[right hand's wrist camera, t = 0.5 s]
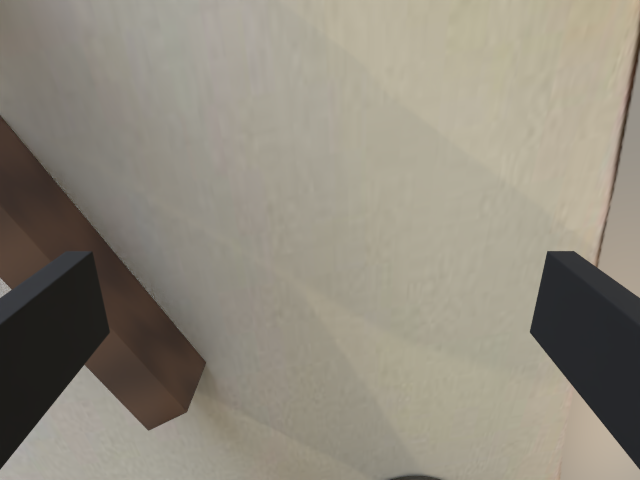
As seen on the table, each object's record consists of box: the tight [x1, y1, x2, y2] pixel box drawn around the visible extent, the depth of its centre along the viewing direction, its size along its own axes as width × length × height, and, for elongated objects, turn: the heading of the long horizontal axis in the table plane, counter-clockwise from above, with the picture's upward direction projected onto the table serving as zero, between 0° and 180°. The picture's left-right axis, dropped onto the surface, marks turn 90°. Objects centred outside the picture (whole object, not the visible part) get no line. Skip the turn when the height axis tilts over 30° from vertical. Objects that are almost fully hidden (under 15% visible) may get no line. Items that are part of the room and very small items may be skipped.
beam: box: [0, 116, 206, 430], centre depth 37 cm, size 30×4×7 cm, turn 30°
